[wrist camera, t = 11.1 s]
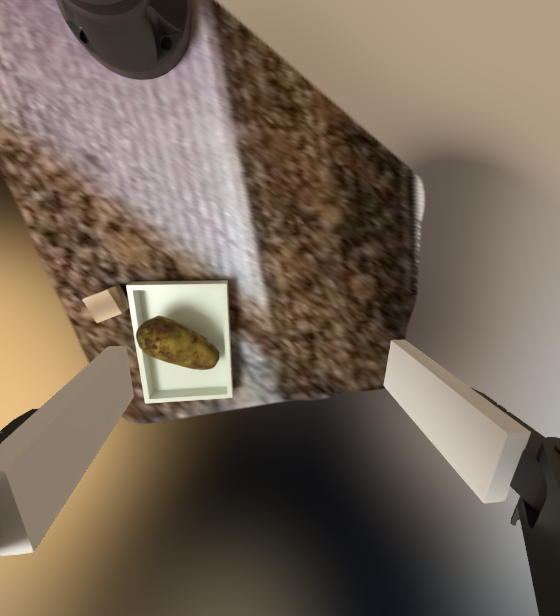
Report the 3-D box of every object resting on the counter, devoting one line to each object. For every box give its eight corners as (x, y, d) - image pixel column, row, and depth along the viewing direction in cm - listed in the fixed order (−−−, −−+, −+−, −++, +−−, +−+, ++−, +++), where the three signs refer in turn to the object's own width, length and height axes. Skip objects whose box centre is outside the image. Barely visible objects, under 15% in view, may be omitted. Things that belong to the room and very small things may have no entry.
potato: (188, 376, 49) (177, 403, 41) (140, 321, 45) (118, 340, 37) (226, 352, 48) (222, 376, 41) (181, 294, 45) (168, 308, 37)
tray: (133, 281, 44) (126, 285, 41) (227, 280, 45) (226, 283, 42) (150, 393, 50) (145, 403, 47) (233, 388, 51) (232, 397, 49)
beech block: (96, 293, 43) (82, 299, 40) (119, 284, 44) (107, 289, 40) (109, 314, 45) (97, 322, 41) (132, 306, 45) (121, 313, 41)
